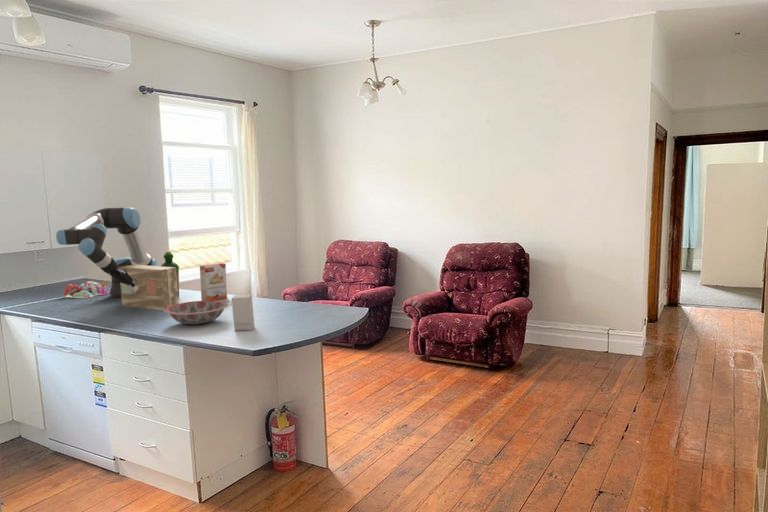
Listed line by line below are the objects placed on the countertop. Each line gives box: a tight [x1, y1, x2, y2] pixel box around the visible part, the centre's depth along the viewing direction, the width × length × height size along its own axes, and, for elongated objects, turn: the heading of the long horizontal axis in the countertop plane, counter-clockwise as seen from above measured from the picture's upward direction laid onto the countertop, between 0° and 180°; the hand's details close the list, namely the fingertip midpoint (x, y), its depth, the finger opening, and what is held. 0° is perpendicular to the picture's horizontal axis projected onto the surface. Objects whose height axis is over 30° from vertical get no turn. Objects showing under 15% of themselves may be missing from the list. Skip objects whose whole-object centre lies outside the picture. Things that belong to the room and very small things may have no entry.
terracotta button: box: [145, 279, 157, 295], centre depth 309 cm, size 3×8×8 cm, turn 62°
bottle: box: [160, 250, 180, 298], centre depth 337 cm, size 11×11×28 cm
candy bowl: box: [63, 279, 111, 299], centre depth 357 cm, size 25×24×9 cm
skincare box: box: [231, 294, 255, 331], centre depth 259 cm, size 8×7×16 cm
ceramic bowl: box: [164, 300, 229, 325], centre depth 275 cm, size 29×29×8 cm
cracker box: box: [199, 262, 228, 301], centre depth 330 cm, size 14×6×21 cm, turn 141°
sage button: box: [121, 279, 136, 294], centre depth 314 cm, size 3×8×8 cm, turn 62°
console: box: [119, 265, 180, 311], centre depth 316 cm, size 10×34×22 cm, turn 62°
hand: (136, 289), depth 300 cm, fingers closed
